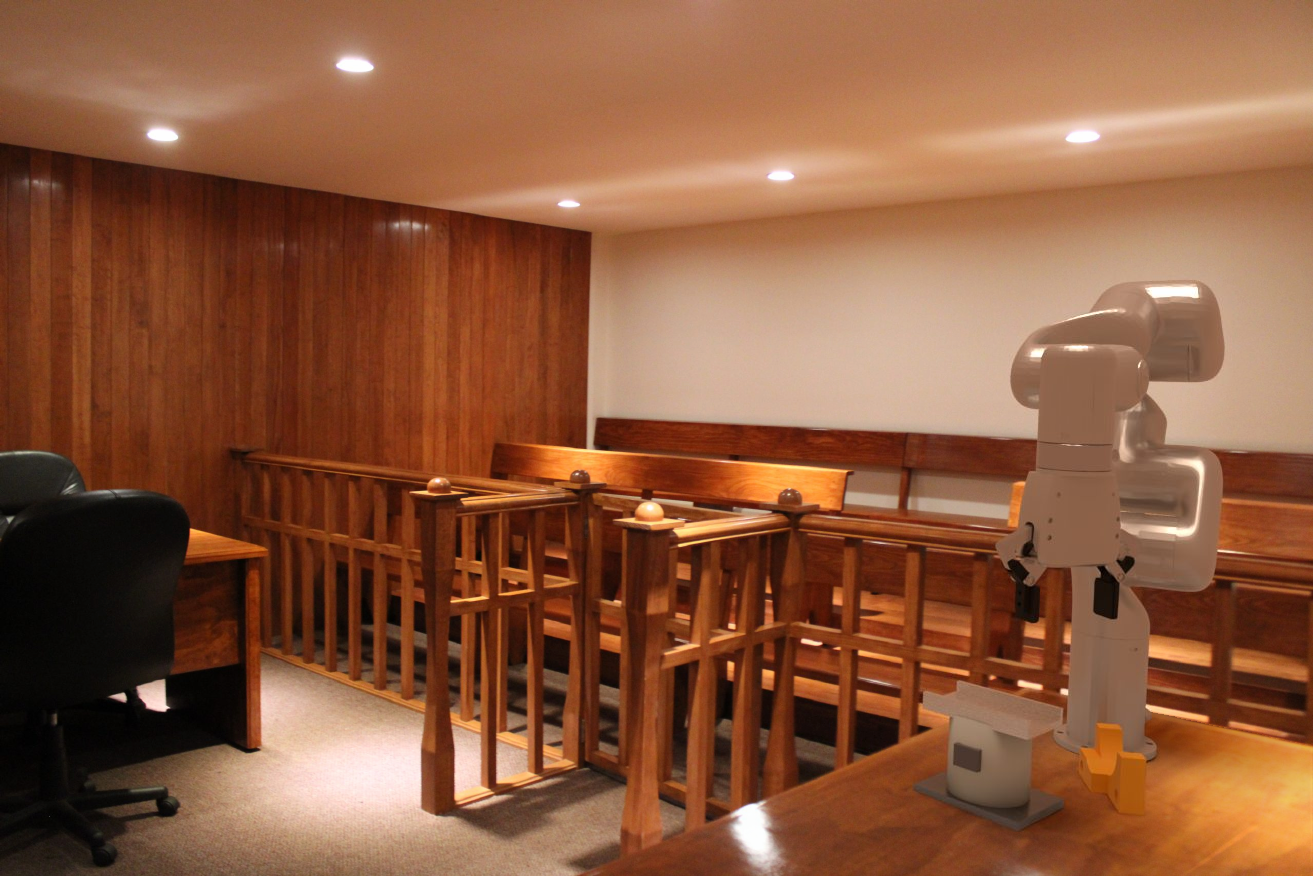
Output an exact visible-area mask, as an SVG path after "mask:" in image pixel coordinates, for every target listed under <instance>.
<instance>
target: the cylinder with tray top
mask: <svg viewBox="0 0 1313 876" xmlns="http://www.w3.org/2000/svg"><path fill="white" fill-rule="evenodd" d="M922 709H924V710H927V711H929V712H933V713H936V714H938V715H943V716H946V717H949V718H948V719H949V722H948V747H947V769H946V770H945V771H942V772H940V773H937V774H935V775H932V776H930V777H928V778H925V779H922V780H920V781H917V782H915V783H913V785H912V787H913V788H912V790H913V791H915V792H918V793H920V794H922V795H925V796H928V797H930V798H933V799H935V800H938V801H939V802H942V803H945V804H948V805H950V804H951V805H950V806H953V807H955V806H956V807H955V808H958V809H960V810H962V809H963V811H964V812H967V811H968V813H970V812H971V813H970V814H972V813H973V814H972V815H975V816H977V815H978V816H977V817H980V818H983V819H985V820H987V821H989V822H993V823H995V824H997V825H1000V826H1002V827H1004V828H1007V829H1010V830H1013V831H1015V832H1020V831H1021V830H1023V829H1026V828H1027V827H1029V826H1032V825H1033V824H1035V823H1036V822H1038V821H1040V820H1043V819H1045V818H1047V817H1049V816H1051V815H1052V814H1054V813H1056V812H1058V811H1060V810H1062V809H1064V802H1065V799H1064V798H1062V797H1059V796H1056V795H1053V794H1050V793H1047V792H1044V791H1041V790H1039V789H1036V788H1033V787H1031V780H1032V779H1031V778H1032V759H1033V758H1032V756H1033V740H1034V739H1033V738H1036V737H1039V736H1042V735H1043V734H1046V733H1048V732H1051V731H1054V730H1055V729H1056V728H1058V727H1061V726H1062V725H1063V724H1064V723H1063V722H1064V721H1063V720H1064V718H1063V717H1064V707H1062V706H1061V707H1060V706H1056V705H1054V704H1049V703H1046V702H1043V701H1039V700H1038V701H1037V700H1035V699H1032V698H1031V699H1030V698H1028V697H1023V696H1020V695H1015V694H1012V693H1009V692H1004V691H1001V690H997V689H994V688H989V687H986V686H981V685H978V684H975V683H971V682H967V681H963V680H957V681H956V690H955V691H953V692H949V693H946V694H940V693H936V692H932V691H929V690H924V691H923V692H922Z"/></svg>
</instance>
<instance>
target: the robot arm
mask: <svg viewBox="0 0 1313 876" xmlns="http://www.w3.org/2000/svg"><path fill="white" fill-rule="evenodd" d="M1223 330H1224V329H1223V323H1222V317H1221V311H1220V306H1219V303H1218V299H1217V298H1216V295H1215V293H1214V292H1213V290H1212V289H1211V288H1210V287H1209V286H1208V285H1207V284H1205V283H1204V282H1202V281H1199V280H1194V279H1193V280H1191V279H1181V280H1180V279H1179V280H1176V279H1175V280H1145V281H1141V280H1140V281H1128V282H1121V283H1119V284H1115V285H1112V286H1111V287H1109V288H1108V289H1106V290H1105V291H1103V292H1102V294H1101V295H1100V296H1099V297H1098V299H1097V300H1096V301H1095V303H1094V304H1093V306H1092V308H1091V309H1090V310H1089V311H1088V312H1085V313H1082V314H1079V315H1076V316H1073V317H1069V318H1067V319H1064V320H1063V319H1062V320H1060V321H1057V322H1053V323H1050V324H1047V325H1044V326H1042V327H1040V328H1038V329H1036V330H1034V331H1033V332H1032V333H1030V335H1028V336H1027V338H1026V339H1025V341H1024V342H1023V343H1022V344H1021V346H1020V348H1019V349H1018V351H1017V352H1016V354H1015V357H1014V359H1013V362H1012V364H1011V369H1010V376H1009V377H1010V380H1009V381H1010V389H1011V391H1012V395H1013V396H1014V398H1015V400H1016V401H1017V402H1018V403H1019V404H1020V405H1021V406H1023V407H1025V408H1027V409H1031V410H1038V414H1037V416H1038V417H1037V420H1038V421H1037V440H1036V456H1035V457H1036V458H1035V470H1034V471H1033V470H1032V471H1031V470H1030V471H1028V474H1027V477H1026V478H1025V482H1024V487H1023V490H1022V495H1021V500H1020V507H1019V512H1018V520H1017V528H1016V530H1014V531H1013V532H1012V533H1011V532H1010V533H1009V534H1008V535H1006V536H1004V537H1003V538H1001V539H1000V540H998V541H997V542H995V546H994V547H995V549H996V553H997V554H998V557H999V559H1000V561H1001V566H1002V568H1003V569H1004V570H1005V571H1006V572H1007V573H1008V574H1009V576H1010V579H1011V580H1012V581H1014V582H1015V592H1014V594H1015V595H1014V597H1015V598H1014V610H1015V616H1016V618H1018V619H1020V620H1022V621H1025V622H1027V623H1030V624H1037V623H1038V622H1039V621H1040V607H1041V606H1040V603H1041V601H1040V600H1041V587H1040V585H1037V584H1036V582H1037V581H1038V580H1039V579H1040V578H1041V576H1042V575H1043V573H1044V572H1045V571H1046V570H1047V569H1048V568H1051V569H1052V568H1053V569H1055V568H1070V571H1071V572H1070V573H1071V587H1072V588H1071V589H1072V591H1071V592H1072V596H1071V597H1072V600H1071V601H1072V603H1071V604H1072V605H1071V607H1072V609H1071V611H1072V612H1071V627H1070V628H1071V629H1070V647H1069V664H1068V665H1069V669H1068V689H1067V705H1066V706H1067V708H1066V723H1062V726H1061V727H1058V728H1056V729H1053V739H1054V742H1056V744H1057V745H1059V746H1060V747H1062V748H1063V749H1065V750H1066V751H1068V752H1072V753H1074V754H1076V755H1079V749H1080V747H1081V748H1093V749H1095V732H1096V723H1105V724H1117V725H1119V726H1120V727H1121V728H1122V730H1123V732H1122V740H1123V752H1131V753H1142V755H1143V756H1144V757H1145V758H1146V759H1147V761H1149V760H1152V759H1154V758H1155V757H1156V756H1157V750H1158V749H1157V748H1158V747H1157V744H1156V743H1155V742H1154V740H1152V739H1151V738H1149V737H1148V736H1146V735H1145V730H1146V728H1145V724H1146V723H1147V722H1150V720H1151V719H1152V712H1151V711H1150V710H1149V709H1148V708H1146V707H1147V690H1148V688H1147V687H1148V673H1149V670H1148V669H1149V655H1150V653H1149V650H1150V635H1151V622H1150V618H1149V614H1148V612H1147V610H1146V607H1144V605H1143V603H1142V602H1141V601H1140V599H1139V598H1138V596H1137V595H1136V594H1135V593H1134V591H1133V590H1132V589H1131V588H1132V587H1138V588H1140V587H1143V588H1149V589H1159V590H1160V589H1161V590H1165V591H1166V590H1167V591H1177V592H1188V593H1190V592H1193V593H1194V592H1201V591H1203V590H1205V589H1207V588H1208V587H1209V586H1210V584H1211V582H1212V580H1214V579H1213V578H1214V575H1215V570H1216V567H1217V559H1218V558H1217V557H1218V548H1219V537H1220V527H1221V525H1220V524H1221V517H1222V516H1221V514H1222V505H1223V493H1224V492H1223V491H1224V490H1223V489H1224V477H1223V468H1222V465H1221V461H1220V459H1219V458H1218V456H1217V455H1216V454H1215V453H1214V452H1213V451H1212V450H1210V449H1207V448H1205V447H1202V446H1194V445H1181V444H1165V441H1166V436H1167V435H1166V433H1167V428H1168V421H1167V417H1166V414H1165V413H1164V411H1163V410H1162V409H1161V407H1160V406H1159V404H1158V403H1157V402H1156V401H1155V400H1154V399H1153V398H1152V396H1150V395H1149V394H1148V393H1147V392H1148V388H1149V386H1150V382H1155V383H1156V382H1158V383H1159V382H1161V383H1205V382H1207V381H1211V380H1212V379H1214V378H1215V377H1217V376H1218V374H1219V373H1220V371H1221V370H1222V367H1223V364H1224V360H1225V353H1226V352H1225V349H1226V348H1225V338H1224V337H1225V336H1224V331H1223ZM1017 558H1019V559H1021V560H1020V561H1019V560H1018V559H1017Z"/></svg>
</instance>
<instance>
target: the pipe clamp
mask: <svg viewBox="0 0 1313 876" xmlns="http://www.w3.org/2000/svg"><path fill="white" fill-rule="evenodd" d="M1122 732H1123V730H1122V728H1121V727H1120V726H1119V725H1117V724H1105V723H1096V732H1095V749H1093V748H1081V747H1080V749H1079V754H1078V770H1077V771H1078V773H1079V775H1080V777H1081V778H1082V780H1083V782H1084V783H1085V785H1086V787H1087V788H1088V791H1090V793H1098V794H1106V795H1107V797H1109V800H1110V801H1111V803H1112V805H1113V806H1114V807H1115V809H1116V811H1117V813H1119V814H1124V815H1126V814H1127V815H1134V816H1135V815H1137V816H1144V815H1145V801H1146V799H1145V796H1146V777H1147V776H1146V775H1147V763H1148V762H1147V761H1148V760H1147V759H1146V758H1145V757H1144V756H1143V755H1142V753H1131V752H1123V740H1122Z"/></svg>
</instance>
